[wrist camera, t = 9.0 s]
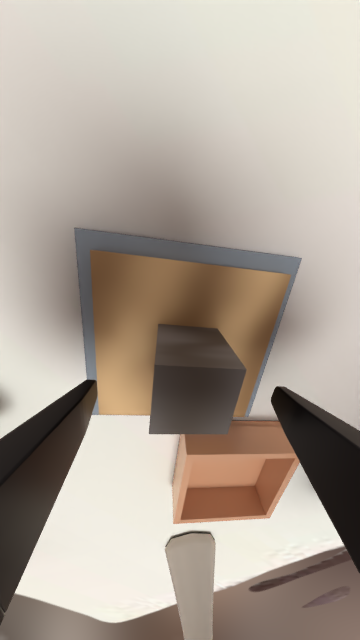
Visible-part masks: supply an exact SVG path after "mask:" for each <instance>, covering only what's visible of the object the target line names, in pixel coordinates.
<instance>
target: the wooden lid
mask: <svg viewBox="0 0 360 640" xmlns="http://www.w3.org/2000/svg"><path fill="white" fill-rule="evenodd" d="M90 261H91V279H92V298H93V316H94V334H95V352H96V370H97V388H98V407H99V415H150V426H149V434H228V431H229V427H230V424H231V421H232V417H245V414H246V411H247V408H248V405H249V402H250V399H251V395H252V392H253V389H254V386H255V383H256V380H257V377H258V374H259V371H260V368H261V365H262V362H263V359H264V356H265V353H266V350H267V347H268V344H269V341H270V338H271V335H272V332H273V329H274V326H275V323H276V320H277V317H278V314H279V311H280V308H281V305H282V302H283V299H284V296H285V293H286V290H287V287H288V284H289V281H290V278H291V275H289V274H283V273H275V272H267V271H259V270H251V269H243V268H235V267H227V266H219V265H211V264H203V263H195V262H187V261H179V260H171V259H163V258H154V257H146V256H138V255H130V254H122V253H114V252H106V251H98V250H90Z"/></svg>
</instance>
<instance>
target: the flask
mask: <svg viewBox="0 0 360 640" xmlns="http://www.w3.org/2000/svg"><path fill="white" fill-rule="evenodd" d="M165 552H166V557H167V561H168V566H169V570H170V574H171V578H172V582H173V587H174V591H175V596H176V600H177V605H178V610H179V614H180V619H181V624H182V629H183V634H184V640H213V632H212V617H213V585H214V565H215V541H214V539H213V538H212V536H211V534H197V533H190V534H187V535H183V536H180V537H176V538H173V539H171V540H170V542H169V543H168V545H167V547H166V548H165Z"/></svg>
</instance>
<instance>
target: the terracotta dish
mask: <svg viewBox="0 0 360 640" xmlns="http://www.w3.org/2000/svg"><path fill="white" fill-rule="evenodd" d="M299 463H300V461H299V460H298V458H297V456H296V454H295V452H294V450H293V448H292V446H291V445H290V443H289V441H288V439H287V437H286V435H285V433H284V431H283V429H282V426H281V424H280V422H279V421H231V424H230V427H229V431H228V434H181V435H180V441H179V447H178V453H177V459H176V465H175V471H174V477H173V483H172V496H173V524H179V523H196V522H213V521H230V520H246V519H263V518H270V516H271V515H272V513H273V511H274V509H275V507H276V505H277V503H278V502H279V500H280V498H281V496H282V494H283V492H284V490H285V489H286V487H287V485H288V483H289V481H290V479H291V477H292V476H293V474H294V472H295V470H296V468H297V466H298V464H299Z"/></svg>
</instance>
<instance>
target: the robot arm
mask: <svg viewBox="0 0 360 640" xmlns="http://www.w3.org/2000/svg"><path fill="white" fill-rule="evenodd" d="M97 396H98V391H97V381H96V380H91V379H88V380H85V381H84V382H82V383H81V384H79V385H78V386H77V387H75V388H74V389H72V390H71V391H69V392H68V393H66V394H65V395H63V396H62V397H61V398H59V399H58V400H56V401H55V402H53V403H52V404H50V405H49V406H47V407H46V408H45V409H43V410H42V411H40V412H39V413H37V414H36V415H34V416H33V417H31V418H30V419H29V420H27V421H26V422H24V423H23V424H21V425H20V426H18V427H17V428H15V429H14V430H13V431H11V432H10V433H8V434H7V435H5V436H4V437H2V438H1V439H0V625H1V623H2V620H3V618H4V616H5V612H6V610H7V609H8V606H9V604H10V602H11V600H12V597H13V595H14V593H15V591H16V589H17V586H18V584H19V582H20V580H21V577H22V575H23V573H24V571H25V568H26V566H27V564H28V562H29V559H30V557H31V555H32V553H33V550H34V548H35V546H36V544H37V541H38V539H39V537H40V535H41V532H42V530H43V528H44V526H45V523H46V521H47V519H48V517H49V514H50V512H51V510H52V508H53V505H54V503H55V501H56V499H57V496H58V494H59V492H60V490H61V487H62V485H63V483H64V481H65V478H66V476H67V474H68V472H69V469H70V467H71V465H72V463H73V460H74V458H75V456H76V454H77V451H78V449H79V447H80V445H81V443H82V440H83V438H84V436H85V433H86V430H87V427H88V424H89V421H90V418H91V415H92V412H93V409H94V406H95V403H96V400H97ZM271 403H272V406H273V408H274V410H275V413H276V415H277V417H278V419H279V422H280V424H281V426H282V429H283V431H284V433H285V435H286V437H287V439H288V441H289V443H290V445H291V446H292V448H293V450H294V452H295V454H296V456H297V458H298V460H299V461H300V463H301V465H302V467H303V469H304V471H305V473H306V474H307V476H308V478H309V480H310V482H311V484H312V486H313V488H314V489H315V491H316V493H317V495H318V497H319V499H320V501H321V502H322V504H323V506H324V508H325V510H326V512H327V514H328V516H329V517H330V519H331V521H332V523H333V525H334V527H335V529H336V530H337V532H338V534H339V536H340V538H341V540H342V542H343V544H344V545H345V547H346V549H347V551H348V553H349V555H350V557H351V558H352V560H353V562H354V564H355V566H356V568H357V569H358V572H359V573H360V431H359V430H357V429H356V428H354V427H352V426H350V425H349V424H347V423H345V422H344V421H342V420H340V419H339V418H337V417H335V416H333V415H332V414H330V413H328V412H327V411H325V410H323V409H322V408H320V407H318V406H316V405H315V404H313V403H311V402H310V401H308V400H306V399H304V398H303V397H301V396H299V395H298V394H296V393H294V392H293V391H291V390H289V389H287V388H286V387H280V386H277V387H276V388H275V389H274V392H273V395H272V397H271Z"/></svg>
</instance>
